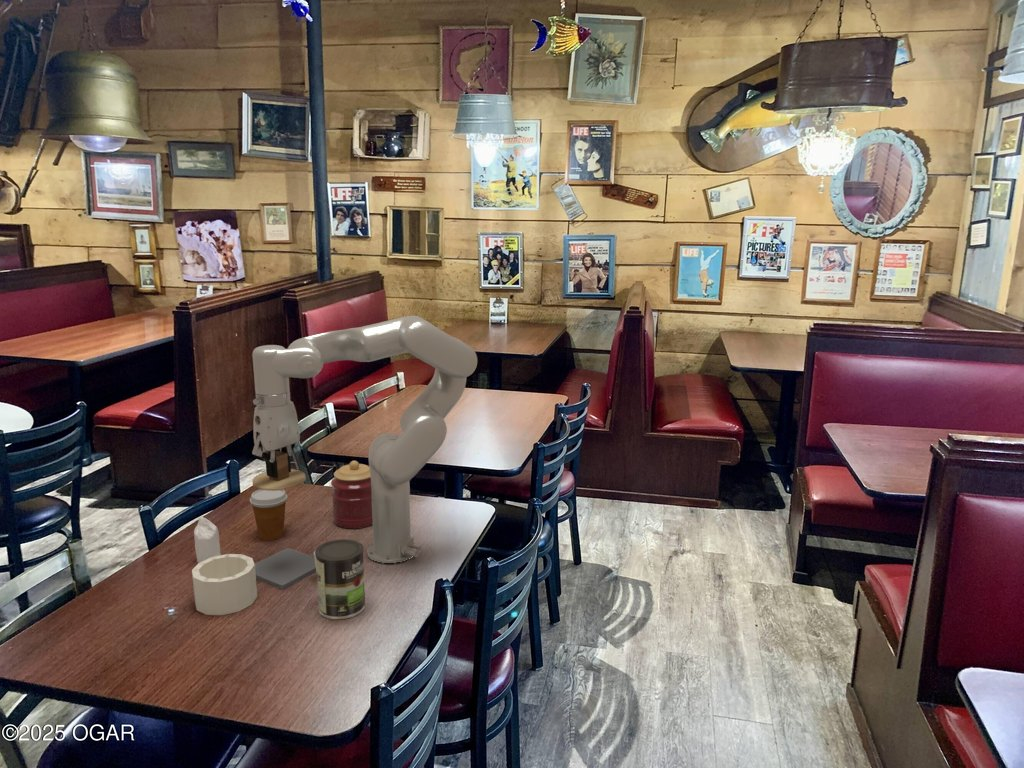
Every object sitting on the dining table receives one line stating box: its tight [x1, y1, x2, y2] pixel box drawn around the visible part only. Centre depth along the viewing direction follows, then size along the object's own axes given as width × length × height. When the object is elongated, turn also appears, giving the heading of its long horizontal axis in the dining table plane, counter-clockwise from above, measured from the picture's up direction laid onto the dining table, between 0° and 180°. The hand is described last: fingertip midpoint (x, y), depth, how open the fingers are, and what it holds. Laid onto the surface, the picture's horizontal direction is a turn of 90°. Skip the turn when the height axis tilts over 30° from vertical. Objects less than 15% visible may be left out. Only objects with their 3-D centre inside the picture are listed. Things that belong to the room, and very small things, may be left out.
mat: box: [254, 547, 317, 590], centre depth 181 cm, size 14×14×1 cm
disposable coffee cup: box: [249, 489, 288, 541], centre depth 198 cm, size 10×10×12 cm
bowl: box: [191, 553, 258, 616], centre depth 166 cm, size 13×13×8 cm
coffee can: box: [314, 538, 366, 621], centre depth 163 cm, size 10×10×14 cm
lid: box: [251, 450, 306, 491], centre depth 174 cm, size 12×12×7 cm
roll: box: [193, 515, 222, 564], centre depth 184 cm, size 6×12×6 cm
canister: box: [330, 460, 373, 529], centre depth 207 cm, size 13×13×18 cm
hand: (278, 473), depth 175 cm, fingers closed on lid, 3 cm apart
